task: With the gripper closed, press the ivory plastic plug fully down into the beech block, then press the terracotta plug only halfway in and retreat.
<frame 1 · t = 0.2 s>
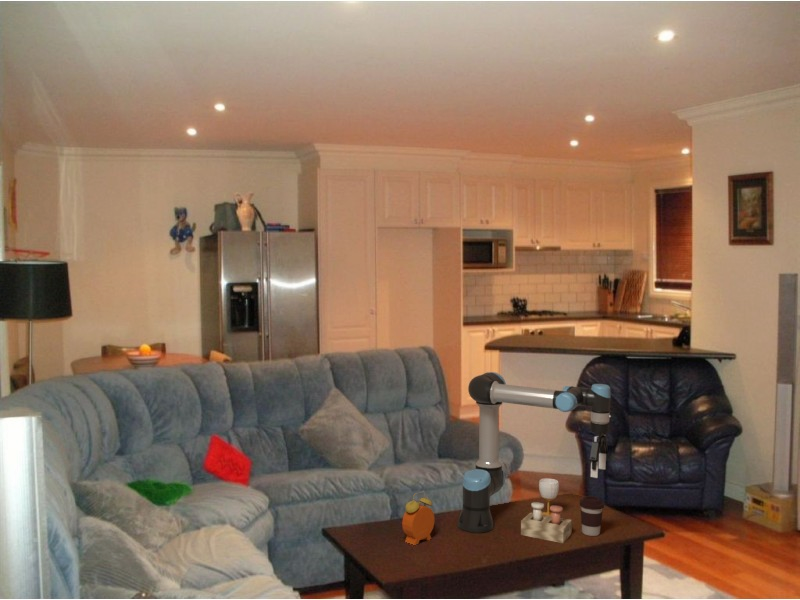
hand: (598, 473, 307), 28 cm above the table, fingers open, 13 cm apart
ivory plug: (537, 513, 314), point 8 cm above the table, slide at 0.0 cm
cup: (548, 516, 335), on the table
alarm clock: (418, 541, 303), on the table
terracotta plug: (555, 517, 310), point 8 cm above the table, slide at 0.0 cm
beech block: (546, 534, 312), on the table
coffee cup: (590, 533, 314), on the table
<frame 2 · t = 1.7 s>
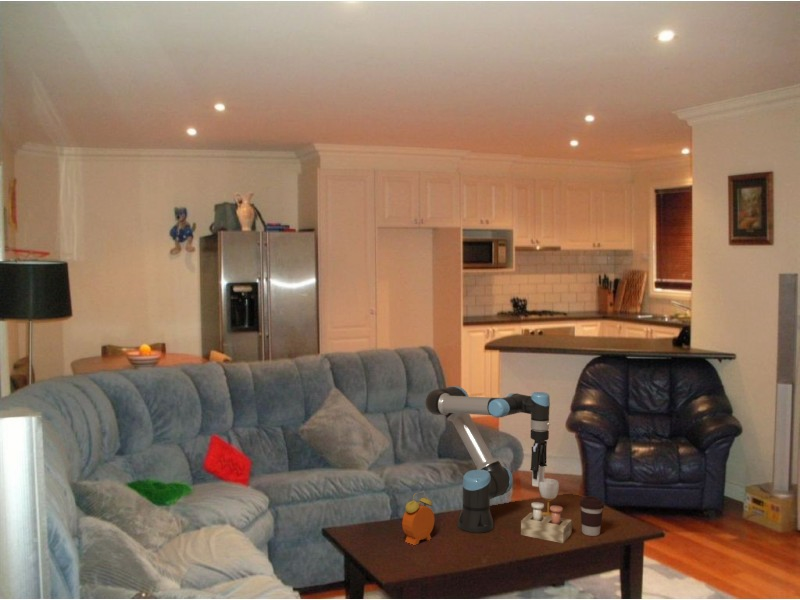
hand: (538, 483, 313), 21 cm above the table, fingers open, 6 cm apart
nothing on the table moved.
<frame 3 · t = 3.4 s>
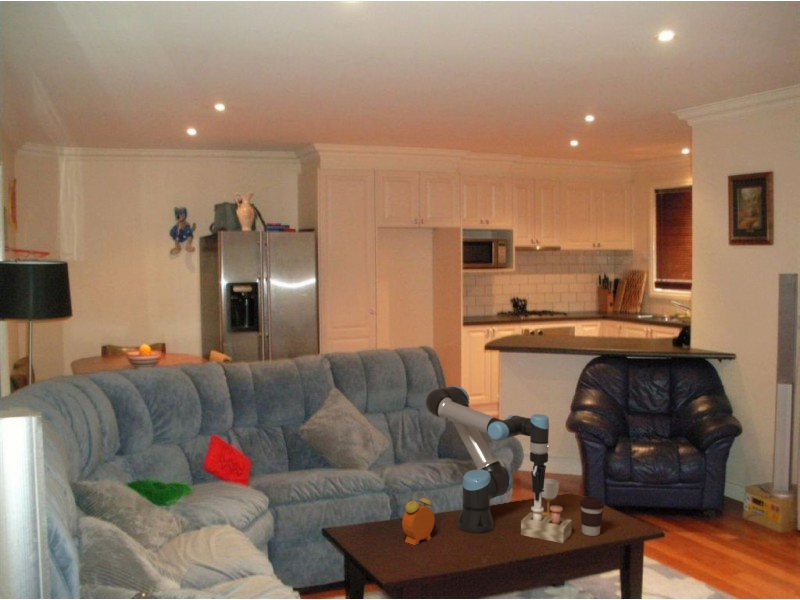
hand: (537, 507, 314), 11 cm above the table, fingers closed
ivory plug: (537, 517, 314), point 7 cm above the table, slide at 1.6 cm, touching gripper
everything else where it was.
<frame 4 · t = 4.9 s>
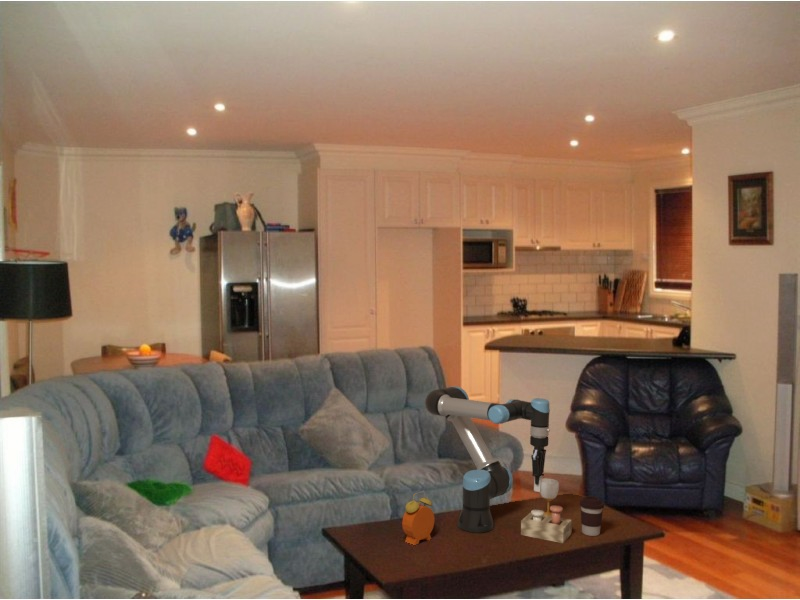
hand: (537, 491, 313), 18 cm above the table, fingers closed
ivory plug: (537, 521, 314), point 5 cm above the table, slide at 3.2 cm
everything else where it was.
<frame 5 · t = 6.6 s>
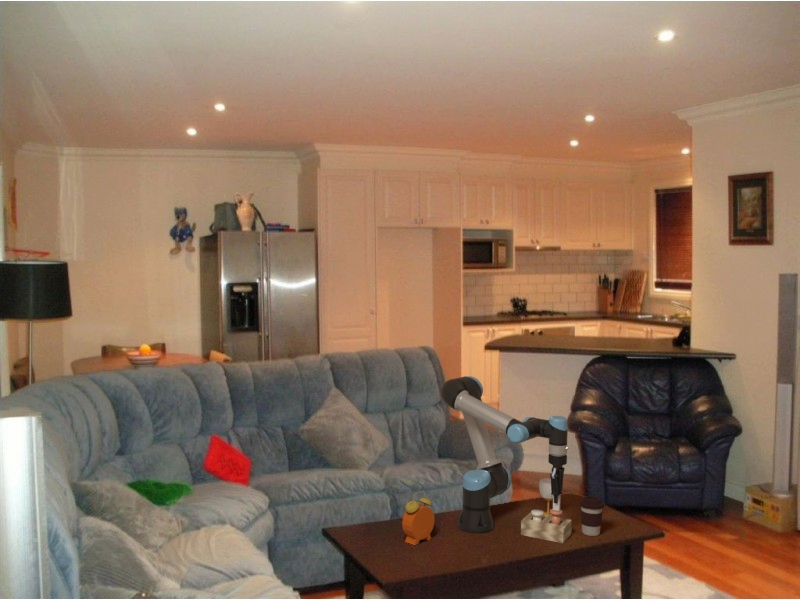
hand: (556, 509, 310), 11 cm above the table, fingers closed
terracotta plug: (555, 520, 310), point 7 cm above the table, slide at 1.3 cm, touching gripper
everything else where it was.
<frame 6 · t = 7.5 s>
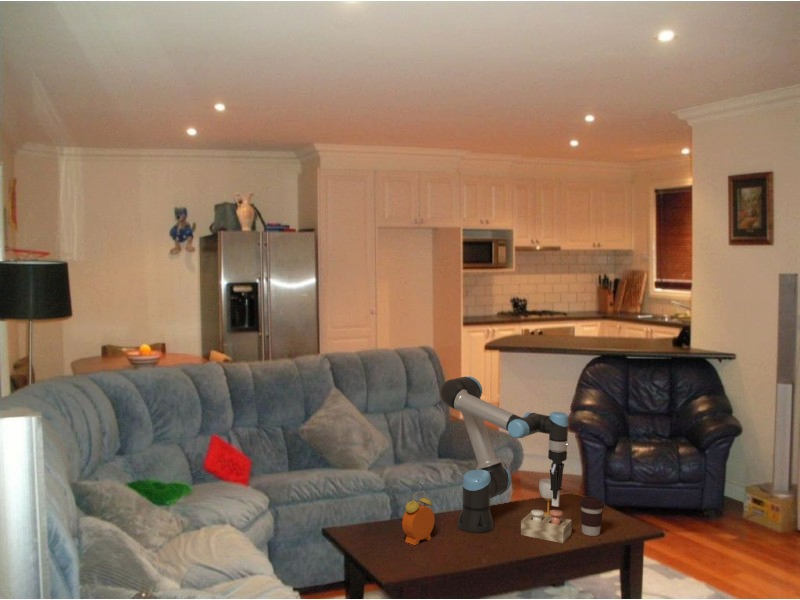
hand: (555, 505, 310), 13 cm above the table, fingers closed
terracotta plug: (555, 521, 310), point 6 cm above the table, slide at 1.8 cm
everything else where it was.
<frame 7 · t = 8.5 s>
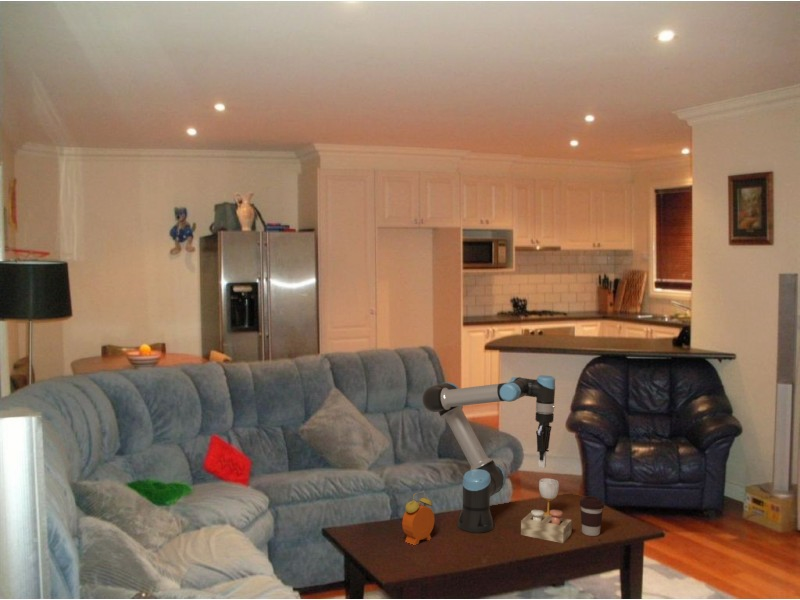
hand: (542, 466, 318), 27 cm above the table, fingers closed
nothing on the table moved.
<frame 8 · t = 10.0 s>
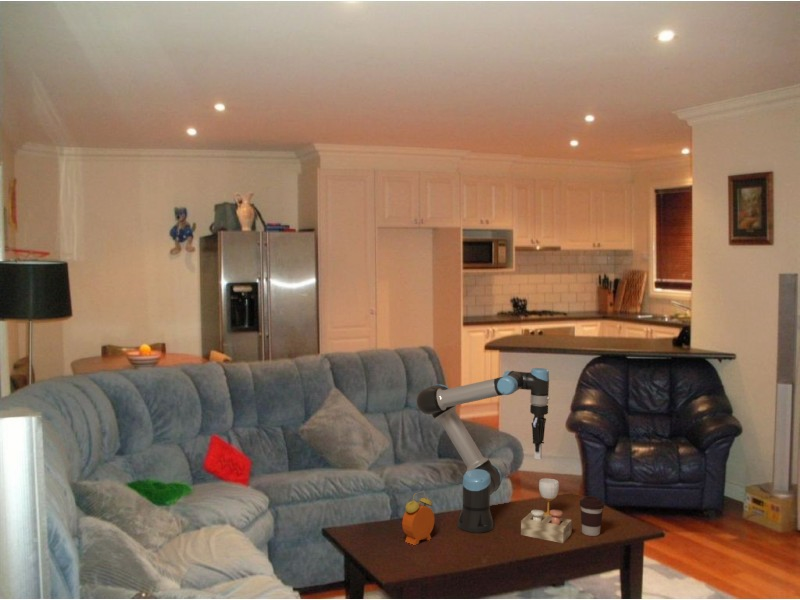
hand: (537, 458, 321), 29 cm above the table, fingers closed
nothing on the table moved.
at the end: ivory plug slide at 3.2 cm; terracotta plug slide at 1.8 cm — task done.
